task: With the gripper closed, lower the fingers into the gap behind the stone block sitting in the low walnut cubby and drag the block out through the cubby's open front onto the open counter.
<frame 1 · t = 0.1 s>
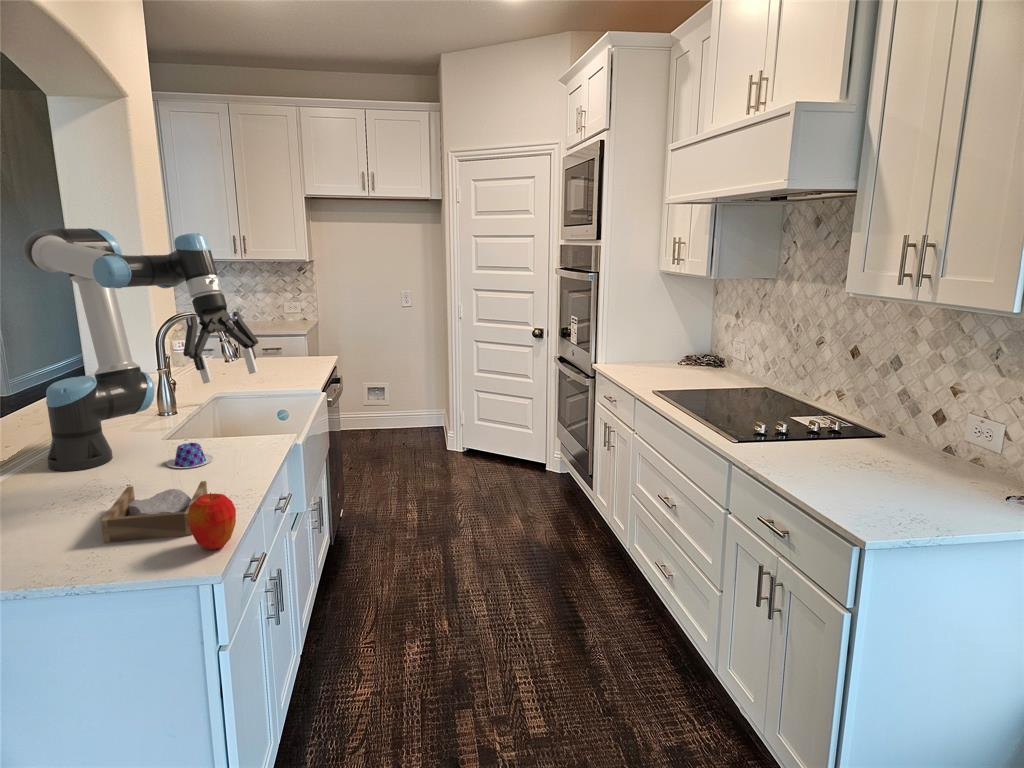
hand: (231, 377, 165), 28 cm above the worktop, tool tilted 20°, fingers open, 13 cm apart
stone block: (164, 515, 151), on the worktop, touching cubby
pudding: (190, 463, 184), on the worktop
cubby: (159, 520, 147), on the worktop
apple: (214, 547, 136), on the worktop
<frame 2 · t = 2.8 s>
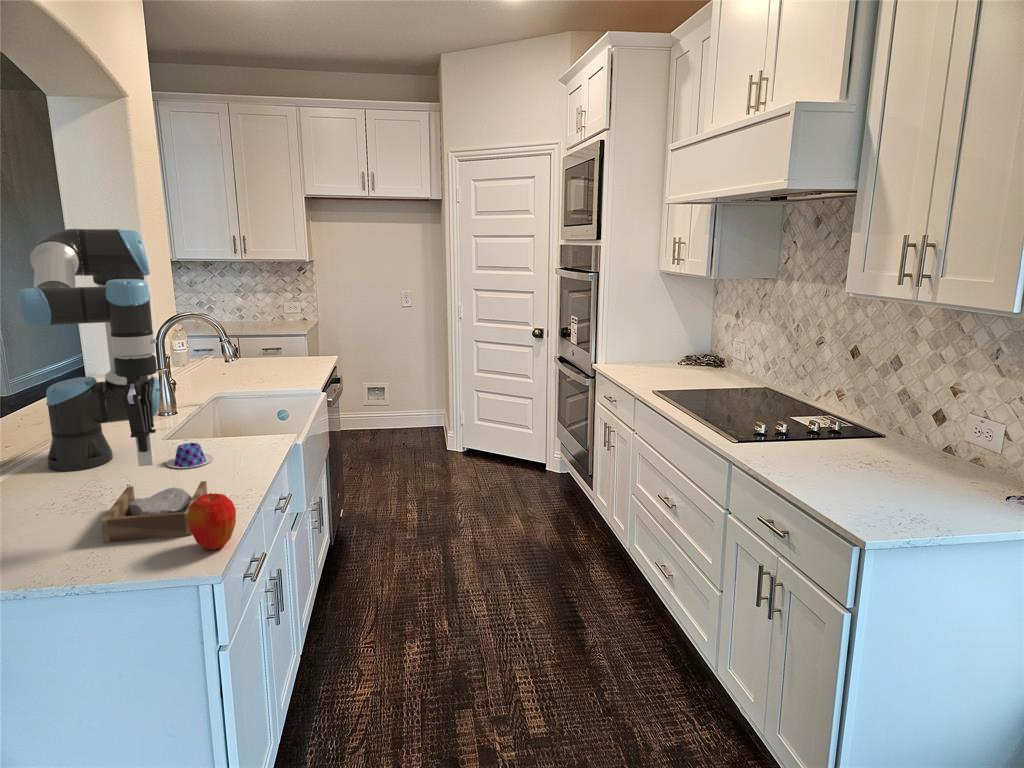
hand: (146, 464, 139), 15 cm above the worktop, tool pointing down, fingers closed
stone block: (164, 514, 152), on the worktop
everything else where it was.
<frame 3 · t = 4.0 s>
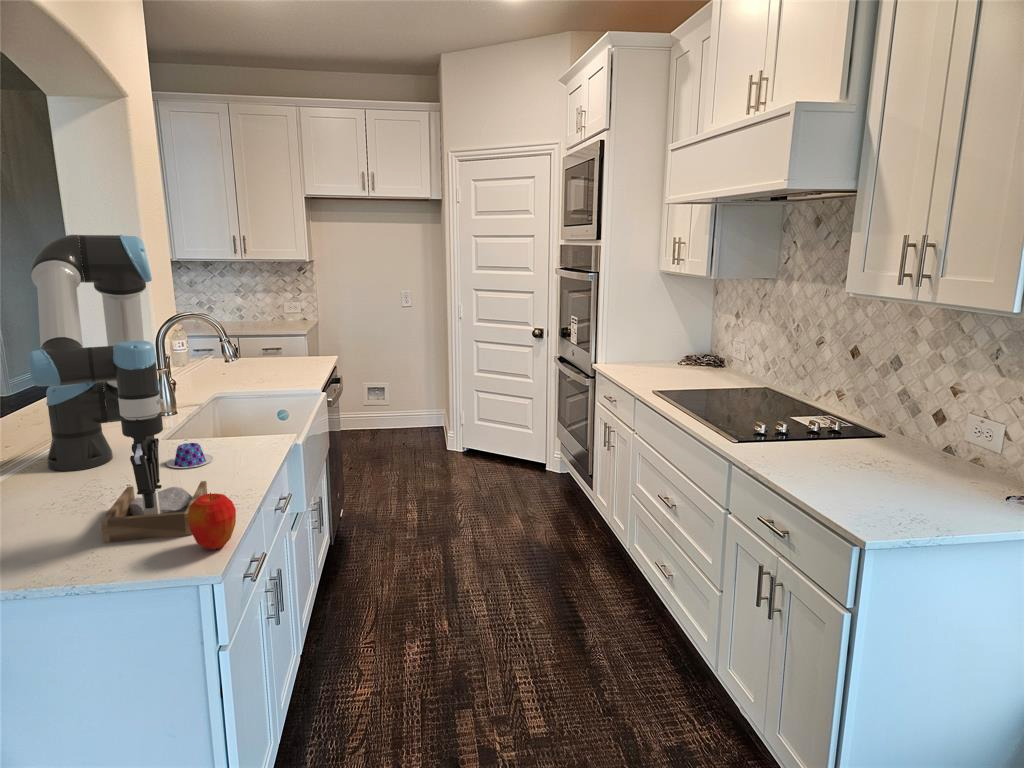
hand: (152, 519, 142), 2 cm above the worktop, tool pointing down, fingers closed
nothing on the worktop moved.
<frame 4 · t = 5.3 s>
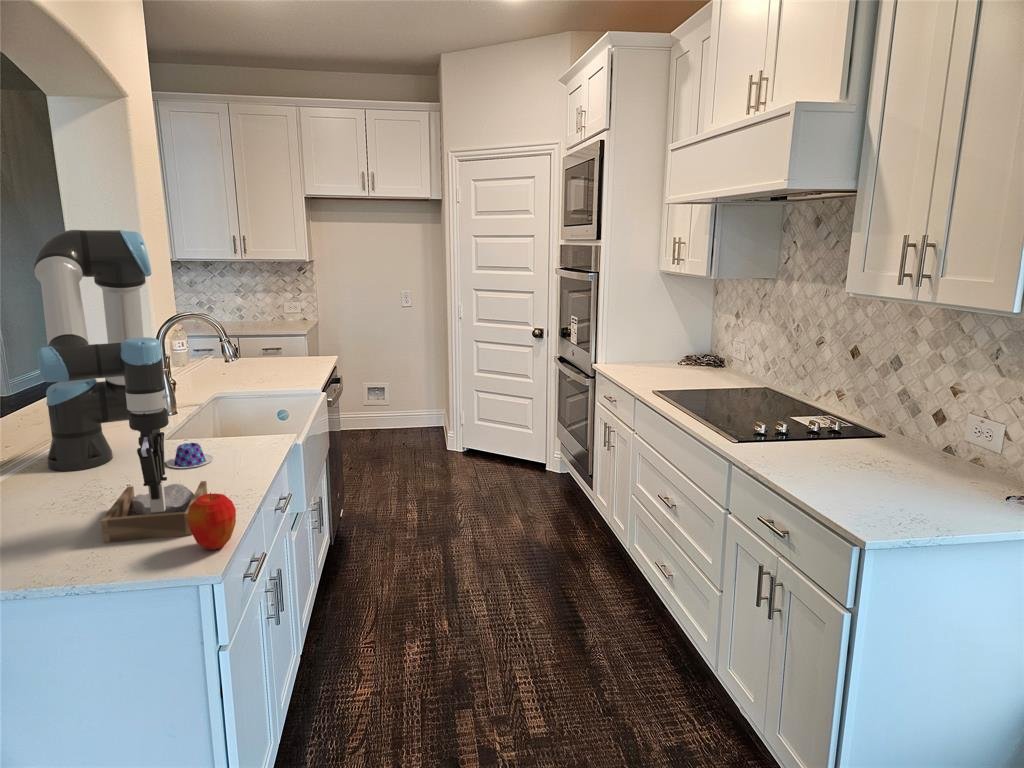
hand: (158, 510, 147), 2 cm above the worktop, tool pointing down, fingers closed
stone block: (166, 509, 154), on the worktop
everything else where it was.
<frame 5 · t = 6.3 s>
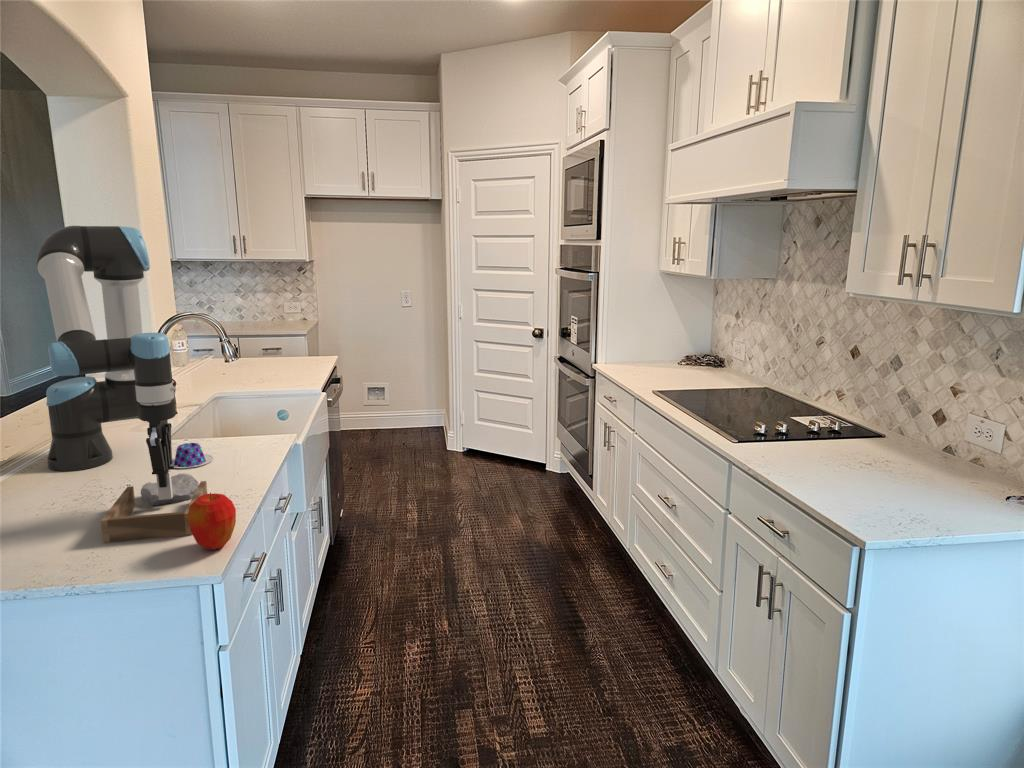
hand: (165, 498, 154), 2 cm above the worktop, tool pointing down, fingers closed
stone block: (173, 498, 160), on the worktop, touching gripper
everything else where it was.
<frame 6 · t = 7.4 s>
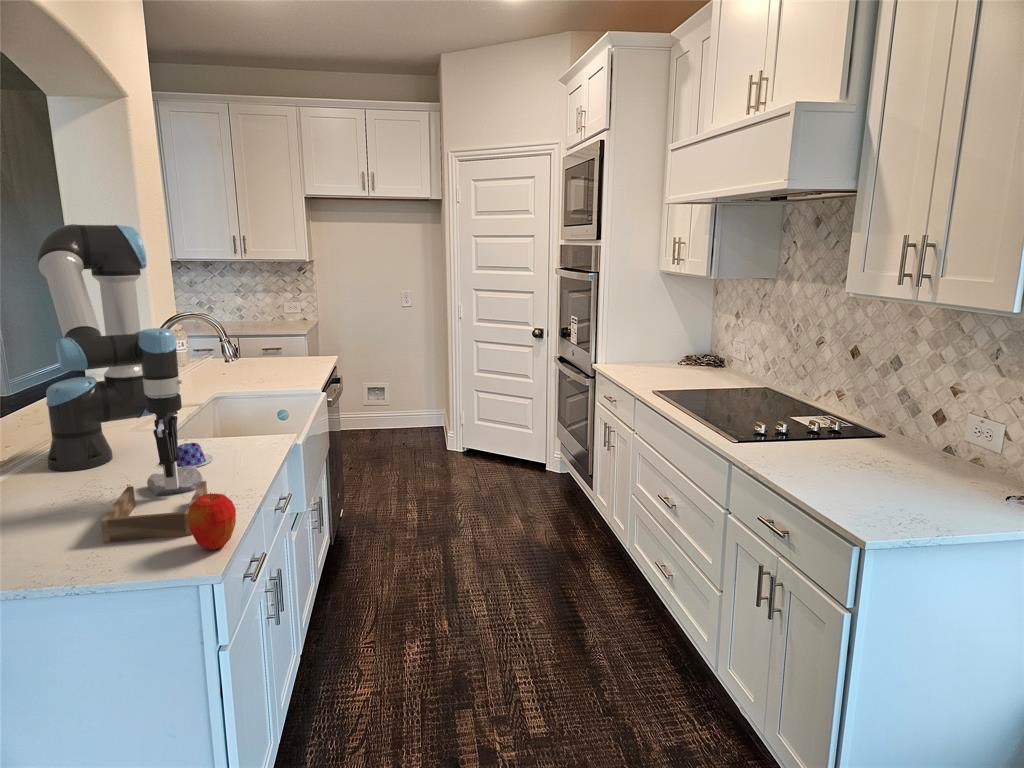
hand: (172, 487, 160), 2 cm above the worktop, tool pointing down, fingers closed
stone block: (178, 489, 166), on the worktop
everything else where it was.
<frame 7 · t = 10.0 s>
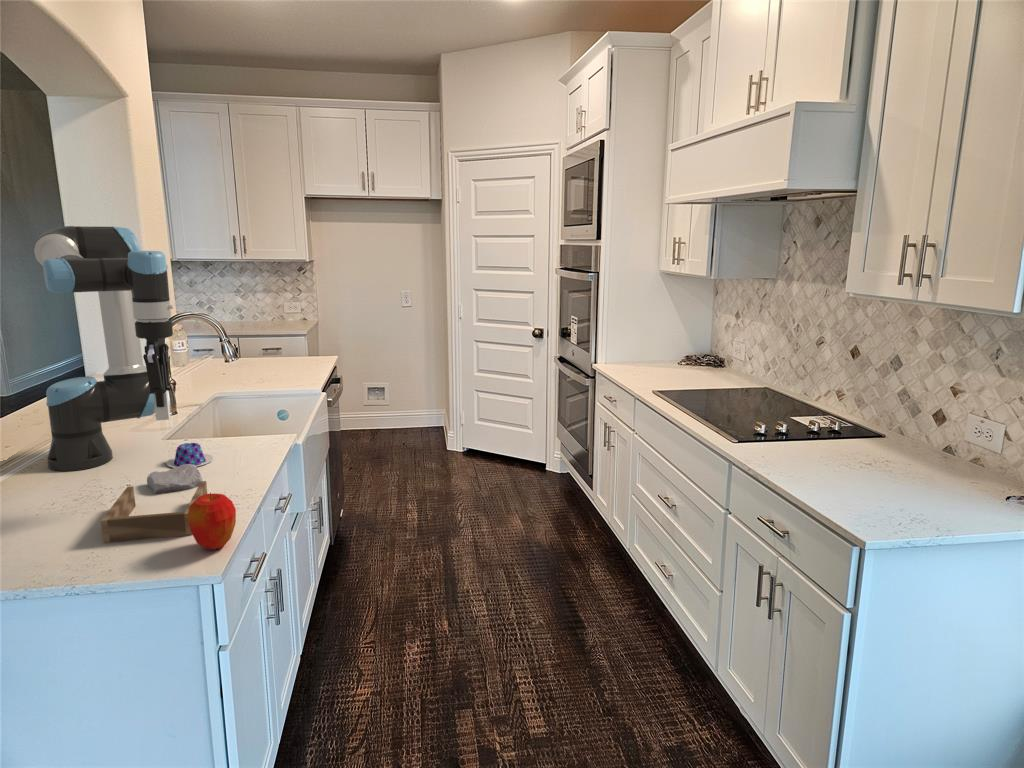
hand: (163, 419, 154), 20 cm above the worktop, tool pointing down, fingers closed
stone block: (177, 487, 167), on the worktop
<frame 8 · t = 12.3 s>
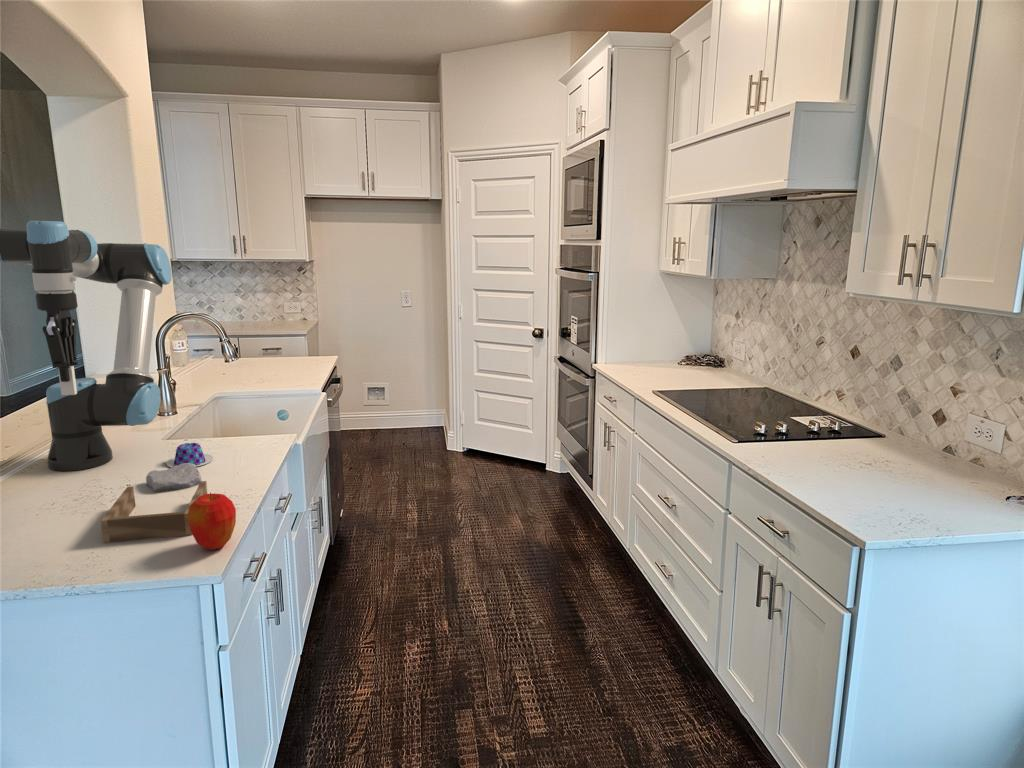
hand: (69, 394, 151), 26 cm above the worktop, tool pointing down, fingers closed
stone block: (176, 486, 168), on the worktop
at the end: stone block inside the target area (1.2 cm from its centre), on the worktop; stone block tilted 0°; stone block touching worktop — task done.
